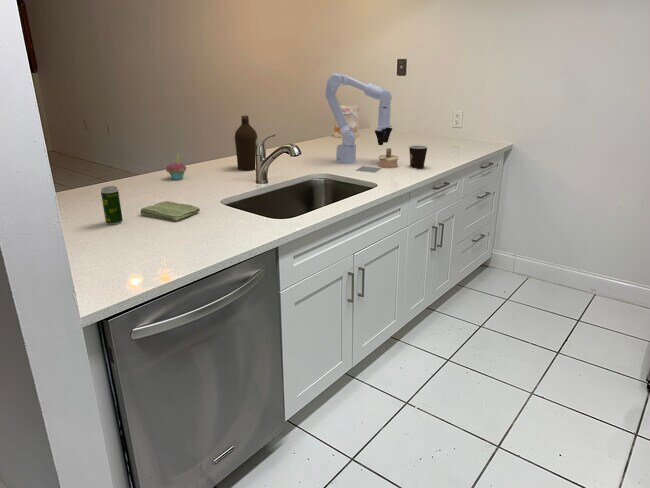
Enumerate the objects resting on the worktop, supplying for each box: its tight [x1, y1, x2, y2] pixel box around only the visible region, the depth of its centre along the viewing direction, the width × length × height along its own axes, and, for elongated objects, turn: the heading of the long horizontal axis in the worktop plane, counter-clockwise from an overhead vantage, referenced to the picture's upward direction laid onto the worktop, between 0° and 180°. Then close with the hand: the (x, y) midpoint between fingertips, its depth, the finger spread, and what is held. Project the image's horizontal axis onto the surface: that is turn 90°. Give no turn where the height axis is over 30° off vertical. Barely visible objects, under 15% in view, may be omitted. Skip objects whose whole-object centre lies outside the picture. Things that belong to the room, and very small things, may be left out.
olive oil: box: [234, 114, 258, 172], centre depth 242 cm, size 11×11×25 cm
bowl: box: [378, 158, 398, 169], centre depth 250 cm, size 8×8×4 cm
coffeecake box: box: [333, 105, 360, 139], centre depth 328 cm, size 15×7×20 cm, turn 81°
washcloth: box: [139, 200, 201, 222], centre depth 180 cm, size 13×18×3 cm
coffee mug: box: [408, 144, 428, 170], centre depth 249 cm, size 12×9×10 cm
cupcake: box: [165, 152, 187, 181], centre depth 225 cm, size 9×8×12 cm
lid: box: [378, 148, 399, 161], centre depth 248 cm, size 10×10×5 cm
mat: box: [355, 165, 383, 174], centre depth 244 cm, size 10×10×1 cm
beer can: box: [100, 185, 123, 226], centre depth 169 cm, size 5×5×12 cm
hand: (383, 143), depth 254 cm, fingers open, 7 cm apart
